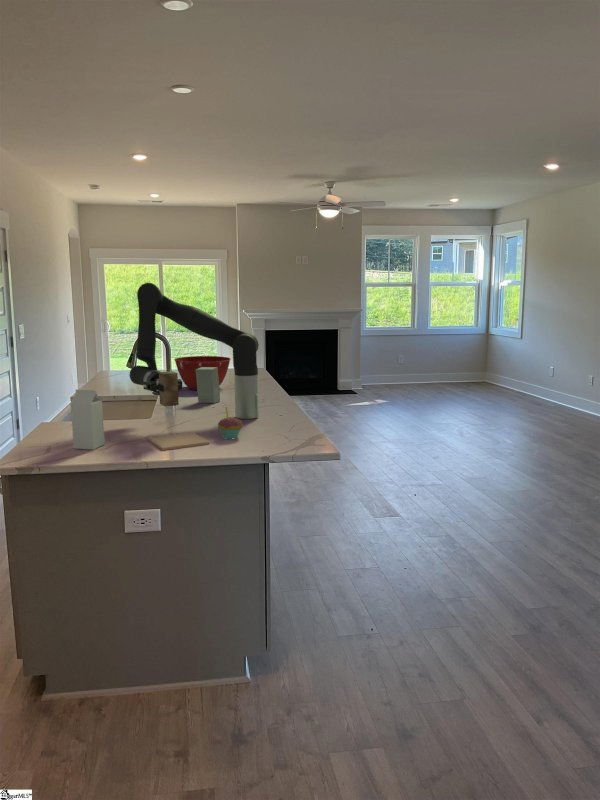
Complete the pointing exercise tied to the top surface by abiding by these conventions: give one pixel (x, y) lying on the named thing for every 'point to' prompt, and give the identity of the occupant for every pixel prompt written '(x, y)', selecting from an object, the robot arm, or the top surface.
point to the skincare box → (208, 385)
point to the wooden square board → (178, 441)
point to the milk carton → (87, 420)
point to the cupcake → (230, 426)
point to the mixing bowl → (192, 363)
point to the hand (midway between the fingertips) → (171, 388)
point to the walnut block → (169, 388)
